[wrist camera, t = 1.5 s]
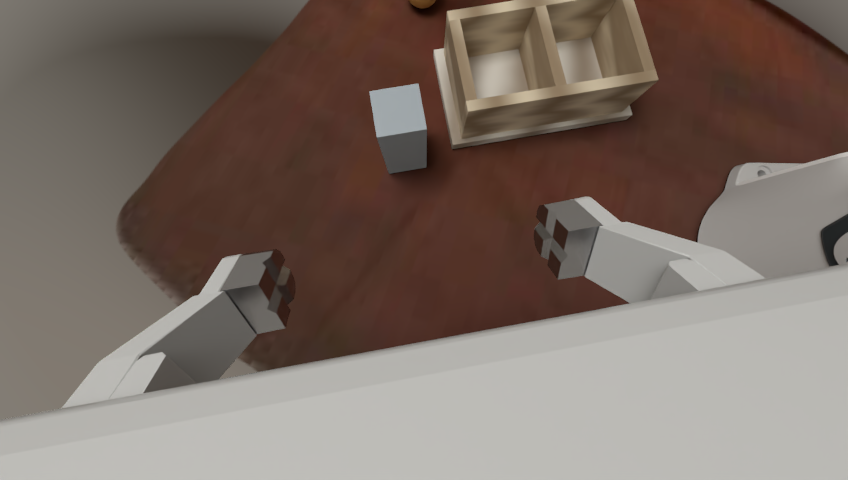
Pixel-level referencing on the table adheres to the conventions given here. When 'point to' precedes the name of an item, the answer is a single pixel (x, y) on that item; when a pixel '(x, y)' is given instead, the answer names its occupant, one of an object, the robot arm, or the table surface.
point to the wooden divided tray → (540, 67)
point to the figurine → (422, 3)
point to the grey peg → (400, 127)
